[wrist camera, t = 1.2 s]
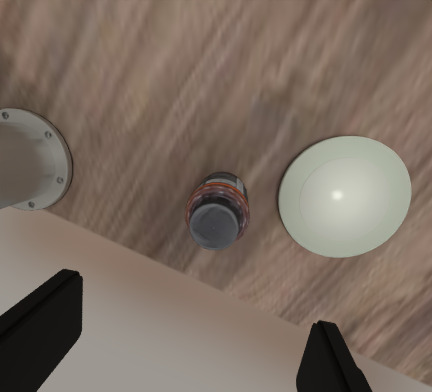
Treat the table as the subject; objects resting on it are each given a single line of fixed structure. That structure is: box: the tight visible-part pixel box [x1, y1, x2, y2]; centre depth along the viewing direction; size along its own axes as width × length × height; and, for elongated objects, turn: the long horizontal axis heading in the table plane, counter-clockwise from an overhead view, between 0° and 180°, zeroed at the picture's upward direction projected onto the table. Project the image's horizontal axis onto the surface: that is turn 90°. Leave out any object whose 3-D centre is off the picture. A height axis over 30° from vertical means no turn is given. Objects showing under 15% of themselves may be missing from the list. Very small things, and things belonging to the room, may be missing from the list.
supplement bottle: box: [185, 172, 250, 250], centre depth 25 cm, size 6×6×11 cm
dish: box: [278, 136, 411, 257], centre depth 28 cm, size 14×14×2 cm
